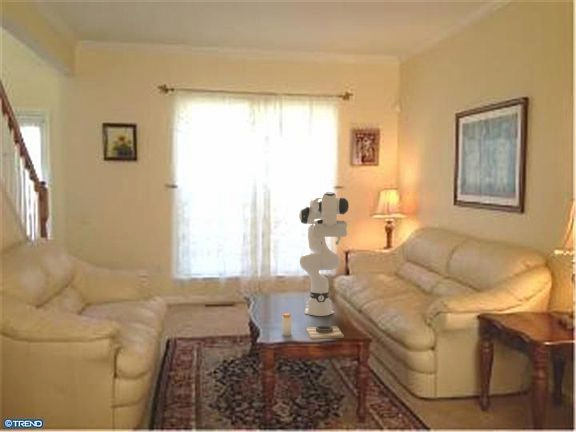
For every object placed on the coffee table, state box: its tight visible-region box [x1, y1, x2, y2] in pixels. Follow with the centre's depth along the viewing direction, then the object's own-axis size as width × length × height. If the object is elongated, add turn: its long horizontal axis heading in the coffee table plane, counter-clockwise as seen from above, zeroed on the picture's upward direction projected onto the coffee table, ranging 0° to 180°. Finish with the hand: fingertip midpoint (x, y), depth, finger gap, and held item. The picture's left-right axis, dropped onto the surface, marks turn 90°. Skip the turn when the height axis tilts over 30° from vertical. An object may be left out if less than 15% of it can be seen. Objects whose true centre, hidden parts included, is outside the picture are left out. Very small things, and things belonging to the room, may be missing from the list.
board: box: [305, 325, 345, 340], centre depth 292 cm, size 18×18×3 cm
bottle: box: [281, 313, 292, 337], centre depth 290 cm, size 5×5×11 cm
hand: (329, 244), depth 304 cm, fingers open, 8 cm apart
